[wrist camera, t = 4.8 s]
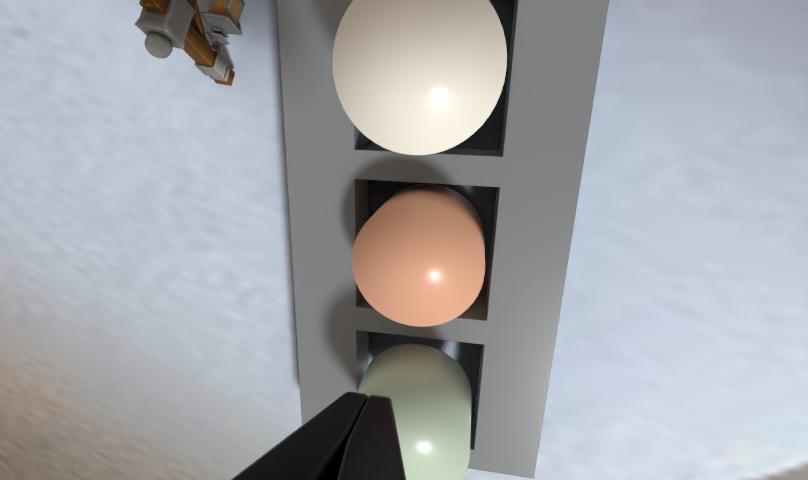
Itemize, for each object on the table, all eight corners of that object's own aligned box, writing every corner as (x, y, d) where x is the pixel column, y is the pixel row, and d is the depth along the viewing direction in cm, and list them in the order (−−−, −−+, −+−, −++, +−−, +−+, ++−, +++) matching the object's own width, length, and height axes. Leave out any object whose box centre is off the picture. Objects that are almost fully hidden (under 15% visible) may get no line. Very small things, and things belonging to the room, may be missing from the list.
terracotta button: (489, 186, 16) (491, 205, 13) (479, 295, 17) (479, 333, 14) (373, 180, 16) (351, 196, 14) (372, 285, 18) (352, 319, 15)
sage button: (475, 350, 16) (474, 402, 13) (467, 443, 18) (464, 508, 15) (363, 337, 17) (340, 384, 14) (363, 427, 18) (342, 486, 16)
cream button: (508, -7, 13) (516, -37, 10) (494, 147, 14) (497, 159, 11) (362, -5, 13) (329, -34, 10) (362, 141, 15) (334, 151, 12)
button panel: (599, -40, 14) (618, -62, 12) (528, 442, 20) (533, 478, 18) (299, -34, 15) (273, -52, 13) (319, 411, 21) (303, 442, 19)
